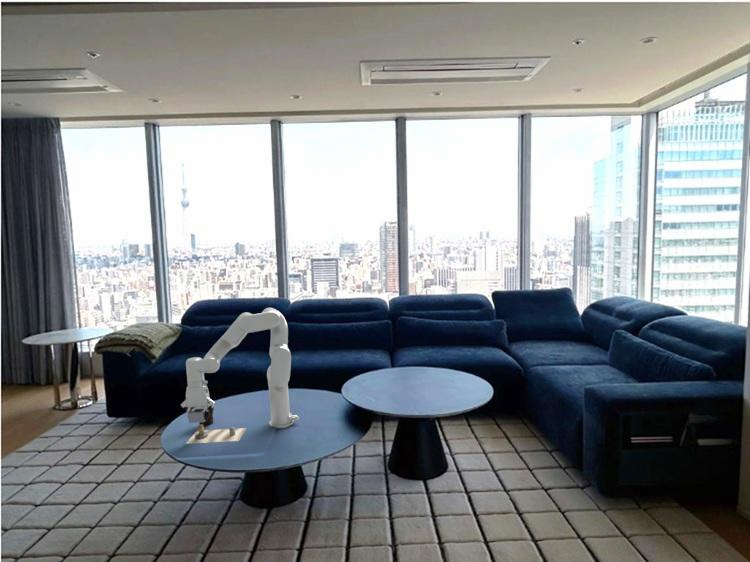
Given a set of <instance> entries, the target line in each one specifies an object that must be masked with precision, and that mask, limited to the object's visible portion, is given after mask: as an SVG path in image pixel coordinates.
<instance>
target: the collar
mask: <svg viewBox="0 0 750 562" xmlns="http://www.w3.org/2000/svg"><path fill="white" fill-rule="evenodd" d="M191 410H192V411H190V412H189V413H187V415H188V414H189V418H188V423H193V424H195V423H199V422H205V412H206V411H205V409H204V408H197V407H194V408H192V409H191Z"/></svg>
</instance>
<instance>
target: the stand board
mask: <svg viewBox="0 0 750 562" xmlns="http://www.w3.org/2000/svg"><path fill="white" fill-rule="evenodd" d="M197 429H198V430H196V431H195V432H194V434H192V436H191V437H190V438H189V439H188V440H187V441H186V443H185V445H187V444H188V445H189V444H190V445H191V444H203V443H204V444H206V443H222V442H224V443H225V442H239V441H240V440H241V438H242V436H243V435H244V433H245V432H246V431H247V427H242V428H235V426H231V427H229V428H223V429H221V428H220V429H208V430H207V429H205V428H204V426H203V425H200V424H199V425H197ZM204 429H205V430H204Z"/></svg>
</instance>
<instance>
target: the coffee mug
mask: <svg viewBox="0 0 750 562" xmlns="http://www.w3.org/2000/svg"><path fill="white" fill-rule="evenodd" d="M210 405H211V403H209V404H208V406H210ZM214 405H215V404H214ZM214 405H213V407H212V408H211V409H210V410H209V412H210V417H209V418H208V419H207V420H205V422H198V424H199V425H203V427H207V426H211V425H212V424H214V410H215V409H214V408H215V407H214ZM196 408H203V407H196Z"/></svg>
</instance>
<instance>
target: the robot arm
mask: <svg viewBox="0 0 750 562" xmlns="http://www.w3.org/2000/svg"><path fill="white" fill-rule="evenodd" d="M265 330H270V343H269V345H270V346H269V351H268V352H269V357H270V359H271V360H270V365H269V366H268V368H267V372H266V378H267V385H268V393H269V405H270V407H269V408H270V417H271V419H270V420H269V421H268V425H269V426H271V427H275V429H284V428H288V427H290V426H292V425H293V424H294V422H295V421H299V420H300V417H299V416H298V415H297V414H292V412H291V410H290V408H291V407H290V397H289V396H290V395H289V385H288V384H289V381H290V377H291V369H292V368H291V366H292V365H291V364H292V354H291V350H290V349H289V346H288V343H289V339H288V338H289V326H288V322H287V320H286V319H285V316H284V315H283V314H282V313H281V312H280V311H279V310H277V308H276V309H275V308H273V307H266V308H264V309H263V311H261V313H255V314H254V313H251V312H247V311H246V312H242V313H241V314H239V316H238V317H237V318H236V319H235V321H233V323H232V324H231V325H230V326H229V327H228V329H227V330H226V332H224V334H223V335H221V337H220V338H219V339H217V341H216V342H215V343H214V344H213V345H212V347H211V348H210V349H209V351H208V352H207V353H206V354H205V355H204V357H203V358H202V357H199V356H198V357H197V356H195V357H190V358H189V357H188V358H187V359H186V361H185V367H186V368H185V369H186V378H187V379H186V380H187V386H186V388H185V389H186V391H185V399H184V401H182V403H181V404H180V406H181V408H183V409H184V410H185V411H186V413H187V419H189V414H188V413H189V412H190V411H192V410H193V409H194V408H197V407H203V408H204V409H205V411H206V412H205V420H207V419H208V418H209V417H210V412H209V410H210V409H211V408H212V407H213V405H215V404H216V401H214V400H212V399H211V398H210V391H209V388H208V380H206V379H205V374H213V373H216V372H217V371H218V370H219V369H220V366H221V360H222V359H223V358H224V357H225V356H226V355H227V354H228V353H229V352H230V351H231V350H232V349H234V348H237V347H238V346H239V345H240V344H241V342H242V340H244V339H245V337H246V336H247V334H249V333H255V332H260V331H261V332H262V331H265ZM208 404H211V405H210V406H208Z"/></svg>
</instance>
